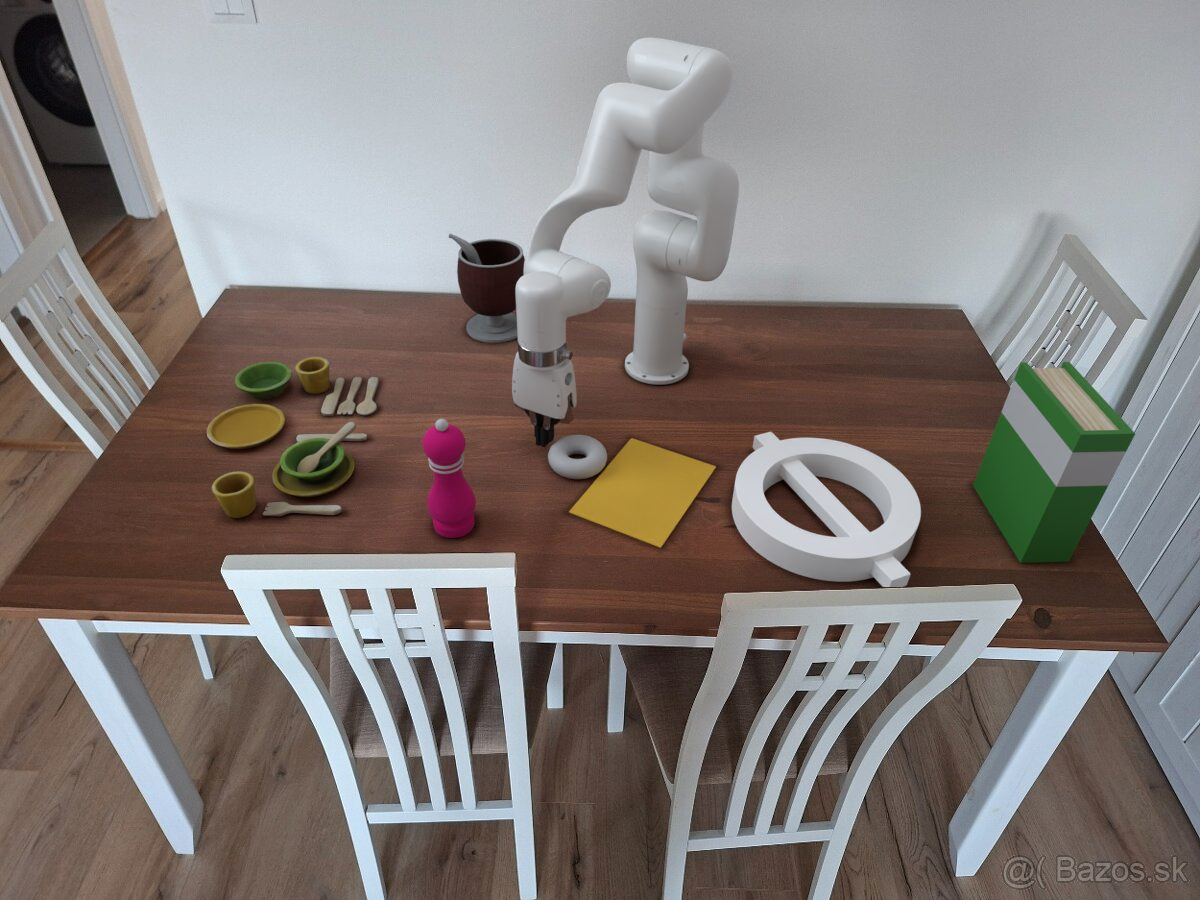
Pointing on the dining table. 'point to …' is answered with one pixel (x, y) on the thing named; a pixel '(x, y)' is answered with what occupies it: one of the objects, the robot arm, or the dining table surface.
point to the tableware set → (306, 463)
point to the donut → (577, 467)
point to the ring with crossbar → (826, 510)
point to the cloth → (644, 492)
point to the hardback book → (1050, 461)
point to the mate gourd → (490, 286)
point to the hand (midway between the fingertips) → (544, 442)
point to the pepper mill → (448, 481)
